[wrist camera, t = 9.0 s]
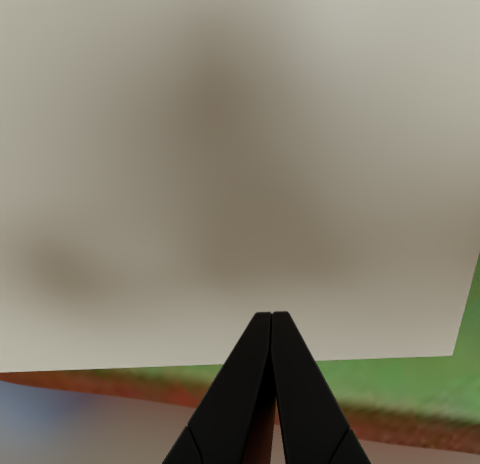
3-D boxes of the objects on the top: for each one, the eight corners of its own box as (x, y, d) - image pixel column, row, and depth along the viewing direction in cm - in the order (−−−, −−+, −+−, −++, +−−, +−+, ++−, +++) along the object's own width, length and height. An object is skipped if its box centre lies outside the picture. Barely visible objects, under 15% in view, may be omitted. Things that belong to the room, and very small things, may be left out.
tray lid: (-22, 359, 17) (-33, 373, 17) (-279, 40, 10) (-317, 42, 9) (443, 339, 15) (452, 355, 14) (551, -121, 7) (580, -134, 7)
